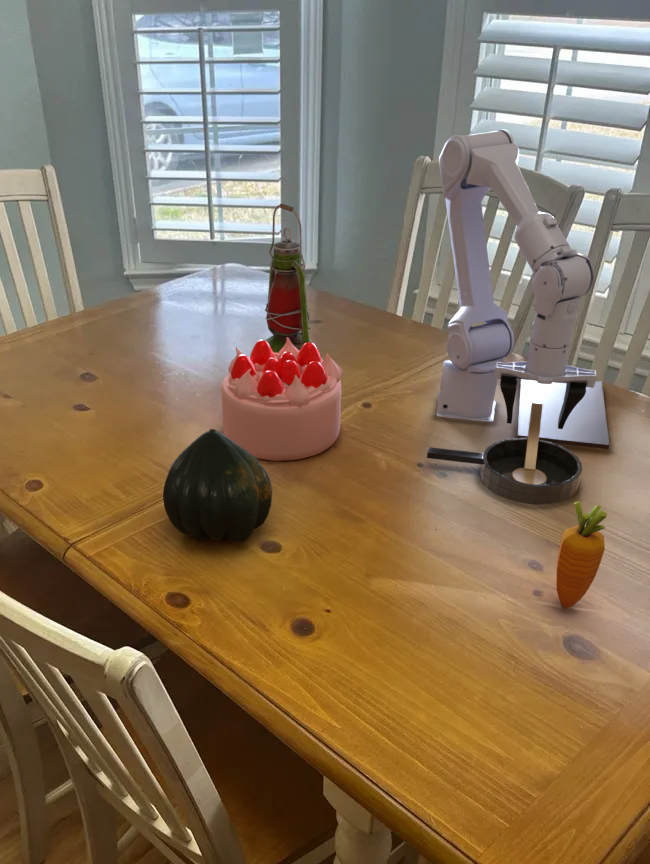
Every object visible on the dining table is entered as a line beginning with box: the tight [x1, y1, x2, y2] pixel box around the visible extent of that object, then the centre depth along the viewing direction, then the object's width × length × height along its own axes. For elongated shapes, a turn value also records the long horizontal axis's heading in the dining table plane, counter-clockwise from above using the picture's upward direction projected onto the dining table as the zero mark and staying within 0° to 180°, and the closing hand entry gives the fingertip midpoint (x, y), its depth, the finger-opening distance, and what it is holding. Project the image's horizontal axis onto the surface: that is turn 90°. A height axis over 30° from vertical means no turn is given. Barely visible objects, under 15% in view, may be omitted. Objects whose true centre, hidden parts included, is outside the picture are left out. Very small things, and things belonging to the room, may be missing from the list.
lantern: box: [264, 203, 314, 353], centre depth 152 cm, size 14×11×30 cm
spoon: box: [511, 403, 547, 485], centre depth 125 cm, size 15×5×7 cm, turn 163°
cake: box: [220, 337, 344, 462], centre depth 135 cm, size 20×20×14 cm
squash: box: [162, 428, 273, 543], centre depth 114 cm, size 14×15×15 cm
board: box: [516, 379, 610, 450], centre depth 141 cm, size 14×24×1 cm, turn 163°
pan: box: [479, 437, 583, 505], centre depth 123 cm, size 14×14×4 cm
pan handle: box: [426, 446, 484, 465], centre depth 125 cm, size 8×2×1 cm, turn 73°
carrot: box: [556, 501, 608, 609], centre depth 96 cm, size 5×5×15 cm
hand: (534, 423), depth 129 cm, fingers open, 7 cm apart
